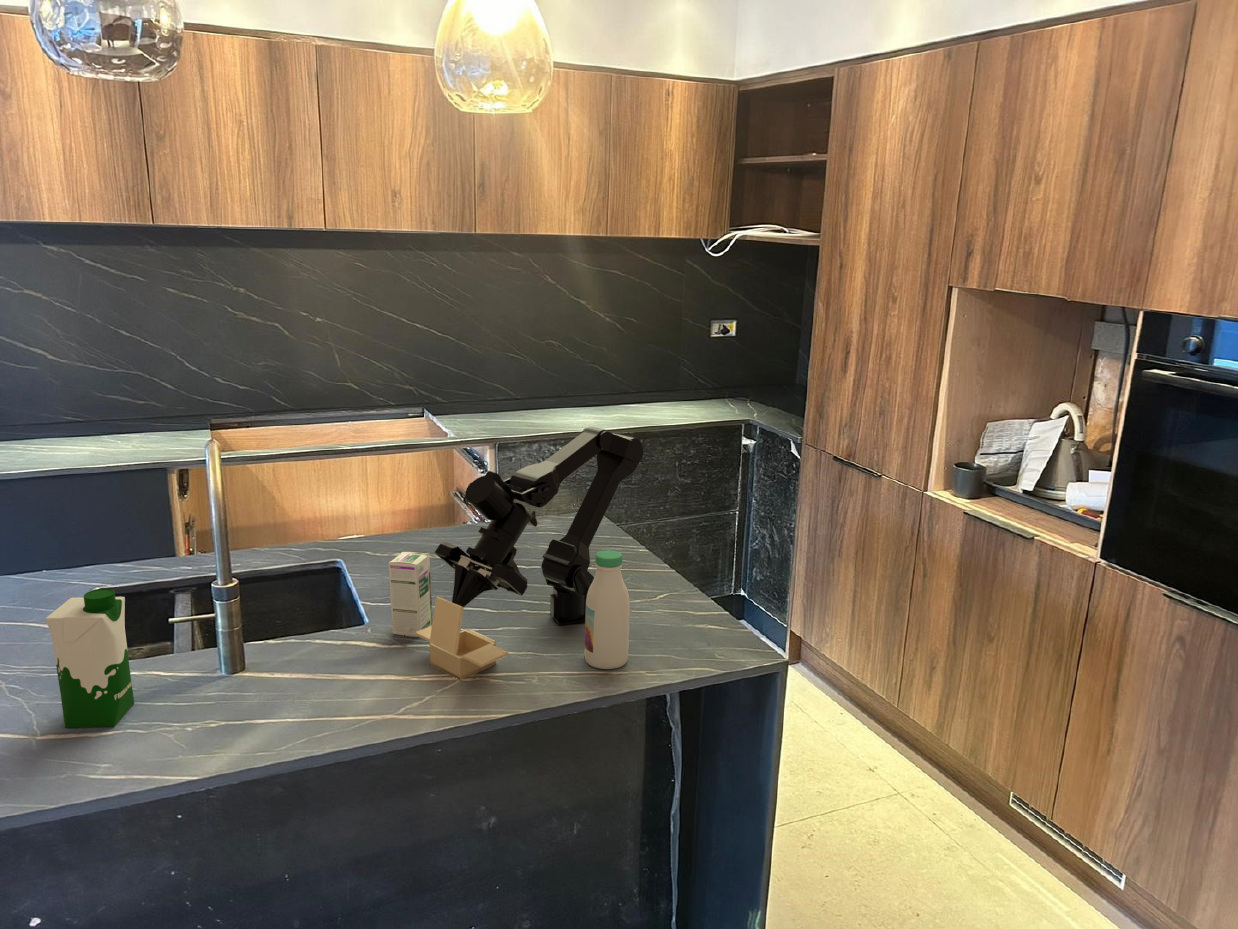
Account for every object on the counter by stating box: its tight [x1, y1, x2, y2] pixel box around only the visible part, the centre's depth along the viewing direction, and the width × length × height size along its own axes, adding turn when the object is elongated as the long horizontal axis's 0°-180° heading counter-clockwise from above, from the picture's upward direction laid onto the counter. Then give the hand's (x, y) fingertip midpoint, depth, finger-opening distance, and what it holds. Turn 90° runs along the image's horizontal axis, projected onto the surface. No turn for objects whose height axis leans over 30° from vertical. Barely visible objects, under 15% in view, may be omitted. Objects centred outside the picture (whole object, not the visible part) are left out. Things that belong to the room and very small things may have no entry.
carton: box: [415, 625, 509, 681], centre depth 157 cm, size 9×17×4 cm, turn 50°
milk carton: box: [45, 588, 135, 729], centre depth 136 cm, size 9×9×20 cm
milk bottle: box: [584, 549, 630, 670], centre depth 158 cm, size 8×8×20 cm
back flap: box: [428, 596, 465, 654], centre depth 152 cm, size 1×6×8 cm, turn 50°
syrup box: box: [387, 551, 433, 638], centre depth 168 cm, size 6×6×14 cm
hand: (454, 610), depth 153 cm, fingers closed
